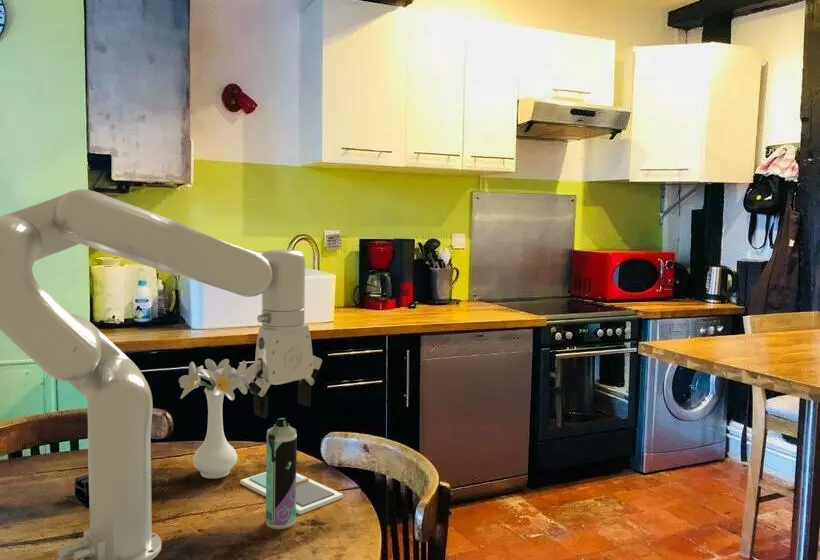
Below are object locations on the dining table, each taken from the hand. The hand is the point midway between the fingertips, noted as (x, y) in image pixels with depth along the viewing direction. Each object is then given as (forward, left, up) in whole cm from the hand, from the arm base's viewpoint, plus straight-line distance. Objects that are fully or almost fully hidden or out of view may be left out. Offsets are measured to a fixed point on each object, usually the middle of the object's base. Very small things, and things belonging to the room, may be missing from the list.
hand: (283, 410), depth 126 cm
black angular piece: (-21, +35, -22) cm, 46 cm away
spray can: (0, 0, -22) cm, 22 cm away
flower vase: (+4, +29, -22) cm, 36 cm away
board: (+10, +10, -21) cm, 26 cm away
